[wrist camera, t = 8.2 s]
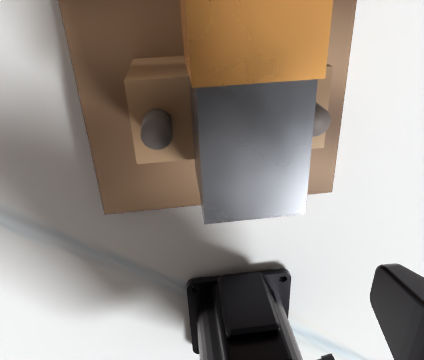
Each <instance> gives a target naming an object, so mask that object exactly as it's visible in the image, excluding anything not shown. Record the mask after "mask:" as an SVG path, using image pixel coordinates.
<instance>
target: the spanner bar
mask: <svg viewBox="0 0 424 360" xmlns="http://www.w3.org/2000/svg"><path fill="white" fill-rule="evenodd" d="M332 7H333V0H180V8H181V21H182V34H183V48H184V60H185V64H186V67H187V71H188V75H189V87H190V101H191V115H192V129H193V143H194V157H195V171H196V177H197V182H198V188H199V194H200V200H201V206H202V212H203V218H204V224H211V223H221V222H230V221H240V220H250V219H260V218H270V217H279V216H289V215H299V214H305V212H306V202H307V191H308V180H309V169H310V159H311V148H312V137H313V126H314V116H315V105H316V94H317V83H318V79H325V76H326V66H327V56H328V46H329V36H330V27H331V17H332Z"/></svg>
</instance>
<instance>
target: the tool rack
mask: <svg viewBox="0 0 424 360" xmlns="http://www.w3.org/2000/svg"><path fill="white" fill-rule="evenodd" d="M356 3H357V0H333V7H332V17H331V27H330V36H329V46H328V56H327V66H326V76H325V79H318V83H317V94H316V105H315V116H314V126H313V137H312V148H311V159H310V169H309V180H308V191H307V195H308V194H318V193H328V192H332V188H333V180H334V173H335V165H336V157H337V150H338V142H339V134H340V126H341V119H342V111H343V103H344V95H345V88H346V80H347V72H348V65H349V57H350V49H351V41H352V34H353V26H354V18H355V11H356ZM59 5H60V10H61V14H62V19H63V24H64V28H65V33H66V37H67V42H68V47H69V51H70V56H71V61H72V65H73V70H74V74H75V79H76V84H77V88H78V93H79V98H80V102H81V107H82V111H83V116H84V121H85V125H86V130H87V134H88V139H89V144H90V148H91V153H92V158H93V162H94V167H95V171H96V176H97V181H98V185H99V190H100V195H101V199H102V204H103V208H104V213H105V214H113V213H124V212H134V211H144V210H154V209H165V208H175V207H185V206H195V205H201V200H200V194H199V188H198V182H197V177H196V171H195V157H194V143H193V129H192V115H191V101H190V87H189V75H188V71H187V67H186V64H185V60H184V48H183V34H182V21H181V8H180V0H59Z"/></svg>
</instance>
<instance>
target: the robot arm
mask: <svg viewBox="0 0 424 360" xmlns="http://www.w3.org/2000/svg"><path fill="white" fill-rule="evenodd" d="M282 276H284V277H282ZM280 277H282V278H280ZM290 285H291V276H290V273H289V271H288V270H286V269H275V270H266V271H257V272H248V273H240V274H231V275H222V276H213V277H205V278H196V279H191V280H190V281H188V283H187V296H188V306H189V316H190V326H191V336H192V345H193V351H194V353H196V354H200V360H303V359H302V356H301V353H300V351H299V348H298V345H297V343H296V340H295V337H294V334H293V332H292V329H291V326H290V324H289V321H288V311H289V298H290ZM194 286H197V287H196V288H192V287H194ZM370 302H371V305H372V308H373V310H374V313H375V315H376V317H377V320H378V322H379V325H380V327H381V329H382V332H383V334H384V336H385V339H386V341H387V344H388V346H389V348H390V351H391V353H392V355H393V358H394V360H424V277H422V276H420V275H418V274H416V273H415V272H413V271H411V270H409V269H407V268H405V267H404V266H402V265H400V264H385V265H380V266H378V267H377V268H376V271H375V275H374V279H373V283H372V288H371V292H370ZM318 360H335V359H334V357H333V356H332V354H328V355H324V356H321V359H318Z"/></svg>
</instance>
